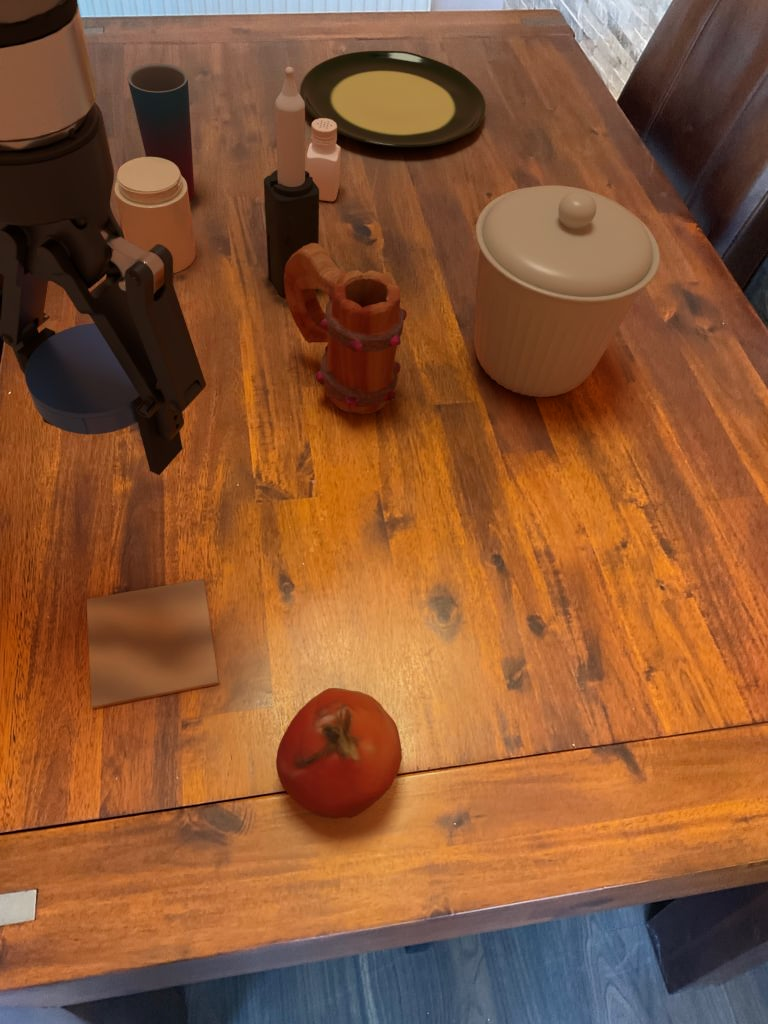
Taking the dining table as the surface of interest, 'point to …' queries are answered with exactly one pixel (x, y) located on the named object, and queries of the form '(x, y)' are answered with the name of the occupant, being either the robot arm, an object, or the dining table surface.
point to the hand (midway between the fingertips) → (113, 435)
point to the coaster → (150, 643)
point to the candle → (289, 187)
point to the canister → (555, 284)
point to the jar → (156, 208)
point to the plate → (393, 98)
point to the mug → (348, 327)
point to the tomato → (339, 754)
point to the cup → (164, 115)
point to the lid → (80, 383)
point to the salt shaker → (324, 158)
